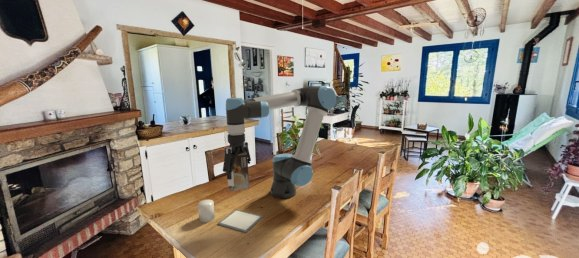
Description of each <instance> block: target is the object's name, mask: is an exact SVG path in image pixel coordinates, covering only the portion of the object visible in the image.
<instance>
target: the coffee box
mask: <svg viewBox="0 0 579 258" xmlns="http://www.w3.org/2000/svg"><path fill="white" fill-rule="evenodd" d="M232 155H234V154H232ZM231 158H232V156H231ZM232 172H233V175H234V186H228V191H229V192H231V191H232V192H233V191H241V190H249V189H250V177H249V176H250V175H249V164H248V157H247V152H246V151H245V152H244V153H242V152H241V153H240V154H238V155H237V157H235V162H234V166H233V169H232Z"/></svg>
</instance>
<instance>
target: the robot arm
mask: <svg viewBox="0 0 579 258" xmlns="http://www.w3.org/2000/svg"><path fill="white" fill-rule="evenodd" d="M336 103H337V94H336V92H335V89H333V88H332V87H330V86H327V85H326V86H325V85H308V86H304V87H300V88H295V89H292V90H291V91H289V92H288V91H287V92H283V93H276V94H271V95H270V94H269V95H266V96H260V97H259V96H258V97H253V98H247V99H244V98H243V97H229V98H227V99H225V115H226V129H227V142H228V143H229V147H228V148H227V147H226V148H224V157H223V159H224V160H223V167H222V172H224V173H226V179H227V186H228V187H229V186H234V175H233V172H232V169H233V166H234V162H235V157H237V155H238V154H240V153H241V152H242V153H244V152H245V151H246V152H247V157H248V165H250V164H251V161H252V158H251V154H250V151H249V143H248V142H246V134H245V132H246V128H245V126H246V124H245V120H248V119H249V120H251V119H263V118H267V117H268V116H269V114H270V111H272V110H276V109H282V108H283V109H284V108H286V107H287V108H288V107H291V106H294V107H295V108H296V107H306V109H307V114H306V119H305V121H304V124H303V128H302V131H301V134H300V137H299V141H298V143H297V146H296V149H295V152H294V154H292V153H279V154H276V155H274V156H273V157H272V176H273V177H272V183H271V185H270V195H271V196H273V198H278V199H289V198H293V197H294V196H296V195H297V187H304V186H306V185H307V184H309V183H310V182H311V181H312V179H313V176H314V171H313V168H312V164H313V162H312V160H311V157H312V155H313V150H314V148H315V146H316V143H317V139H318V135H319V132H320V130H321V127H322V123H323V120H324V117H325V116H326V115H328V113H329V112H330V111H329V110H331V109H333V108H334V107H335V106H336ZM232 154H234V155H232ZM231 156H232V158H231ZM296 186H297V187H296Z"/></svg>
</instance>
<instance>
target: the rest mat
mask: <svg viewBox="0 0 579 258" xmlns="http://www.w3.org/2000/svg"><path fill="white" fill-rule="evenodd" d="M263 218H264V216H263V215H260V214H256V213H251V212H248V211H244V210H241V209H236V208H235V209H234V210H233V211H232V212H231V213H229V214H228V215H226V216H225V217H224V218H223V219H221V220H220V221H218V222H217V225H218V226H222V227H225V228H228V229H231V230H234V231H237V232H238V231H239V232H241V233H244V234H247V233H248V232H249V231H251V229H252V228H253V227H254V226H255V225H256V224H258V223H259V222H260V221H261V220H262V219H263Z"/></svg>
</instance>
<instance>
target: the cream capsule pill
mask: <svg viewBox="0 0 579 258" xmlns="http://www.w3.org/2000/svg"><path fill="white" fill-rule="evenodd" d="M214 202H215V201H214V200H212V199H203V200H201V201H199V202H198V203H197V207H198V210H197V211H198V221H199V222H201V223H204V224H206V223H211V222H212V221H214V220H215V217H216V216H215V205H214V204H215V203H214Z"/></svg>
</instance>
